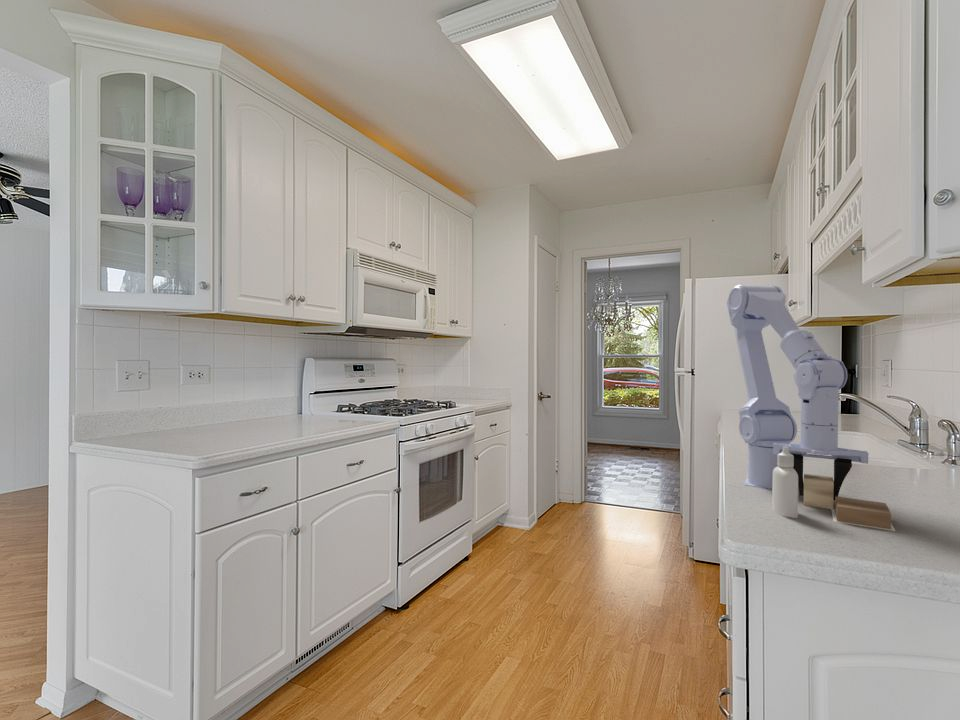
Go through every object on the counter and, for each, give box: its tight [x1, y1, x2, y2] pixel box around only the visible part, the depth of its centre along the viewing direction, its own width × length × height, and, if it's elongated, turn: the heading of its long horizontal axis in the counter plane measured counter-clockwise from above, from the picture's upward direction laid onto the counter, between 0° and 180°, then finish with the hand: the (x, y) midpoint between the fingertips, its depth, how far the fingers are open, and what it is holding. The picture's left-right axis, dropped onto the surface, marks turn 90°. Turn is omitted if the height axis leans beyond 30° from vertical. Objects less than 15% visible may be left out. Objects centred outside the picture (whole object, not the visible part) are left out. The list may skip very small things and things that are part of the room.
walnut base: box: [834, 496, 892, 529], centre depth 85 cm, size 7×7×2 cm
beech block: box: [803, 473, 834, 510], centre depth 94 cm, size 4×4×5 cm
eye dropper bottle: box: [771, 447, 799, 519], centre depth 88 cm, size 4×6×12 cm
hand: (818, 496), depth 94 cm, fingers closed on beech block, 4 cm apart
